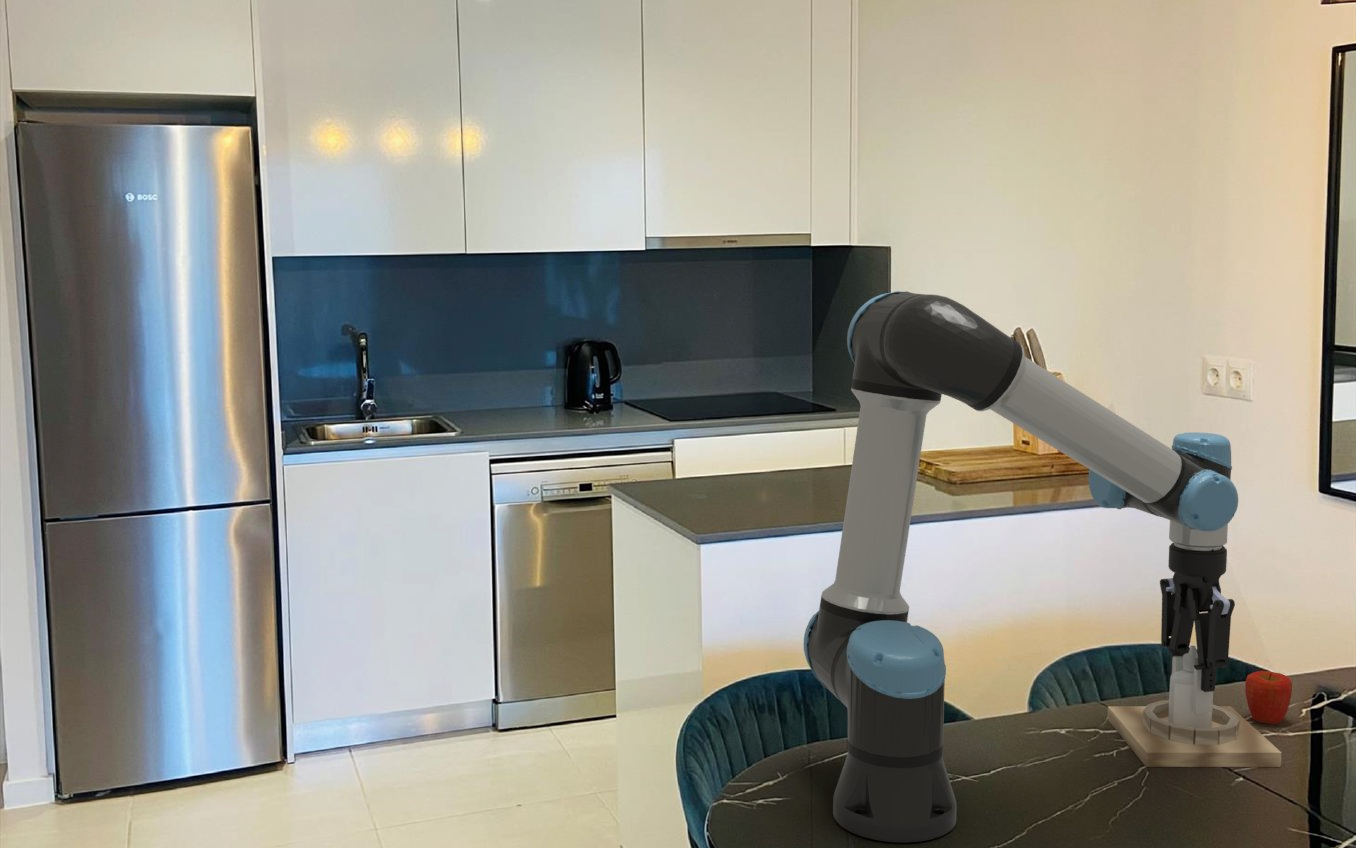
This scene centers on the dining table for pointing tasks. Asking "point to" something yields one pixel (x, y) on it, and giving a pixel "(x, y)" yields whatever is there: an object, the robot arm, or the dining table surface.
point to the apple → (1268, 696)
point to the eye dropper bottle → (1186, 695)
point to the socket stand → (1192, 738)
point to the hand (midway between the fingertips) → (1191, 705)
